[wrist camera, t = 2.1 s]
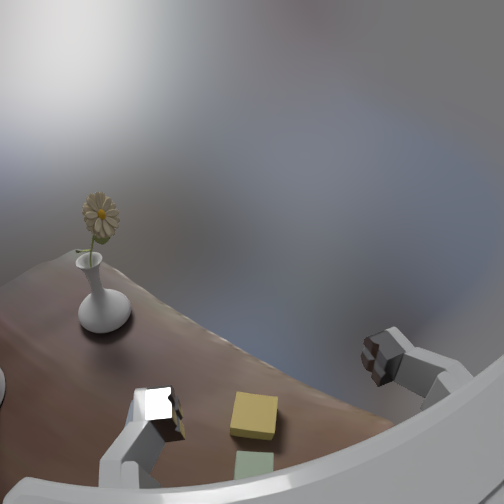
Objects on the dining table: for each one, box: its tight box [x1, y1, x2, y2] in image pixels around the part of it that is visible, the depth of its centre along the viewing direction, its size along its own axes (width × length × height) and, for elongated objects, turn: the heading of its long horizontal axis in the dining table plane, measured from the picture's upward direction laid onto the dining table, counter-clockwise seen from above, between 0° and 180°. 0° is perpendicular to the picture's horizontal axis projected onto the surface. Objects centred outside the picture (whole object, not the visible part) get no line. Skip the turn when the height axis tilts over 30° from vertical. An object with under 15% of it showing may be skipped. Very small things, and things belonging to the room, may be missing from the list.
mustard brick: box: [230, 392, 278, 440], centre depth 37 cm, size 6×6×4 cm
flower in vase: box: [76, 192, 131, 333], centre depth 46 cm, size 13×11×25 cm
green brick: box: [234, 451, 274, 480], centre depth 27 cm, size 4×4×9 cm
